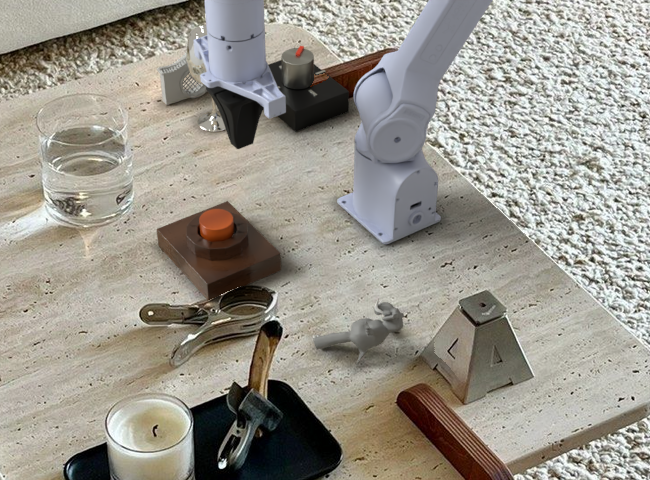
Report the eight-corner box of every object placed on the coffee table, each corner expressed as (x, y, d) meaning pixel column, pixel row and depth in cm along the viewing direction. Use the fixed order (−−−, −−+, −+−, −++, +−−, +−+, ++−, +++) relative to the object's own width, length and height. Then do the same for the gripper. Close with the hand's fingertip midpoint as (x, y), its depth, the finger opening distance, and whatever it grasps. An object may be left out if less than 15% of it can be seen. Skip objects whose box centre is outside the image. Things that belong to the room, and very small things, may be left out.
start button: (240, 234, 126) (239, 221, 125) (211, 247, 124) (210, 233, 123) (223, 217, 128) (222, 204, 127) (194, 229, 126) (192, 216, 125)
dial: (308, 91, 147) (308, 64, 144) (277, 86, 147) (277, 59, 145) (317, 75, 149) (317, 48, 147) (287, 70, 150) (286, 43, 147)
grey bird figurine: (324, 313, 123) (408, 294, 120) (336, 369, 123) (420, 352, 120) (294, 315, 113) (384, 295, 110) (307, 377, 113) (398, 358, 110)
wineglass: (244, 129, 146) (240, 41, 138) (200, 138, 145) (193, 50, 136) (229, 105, 150) (224, 18, 142) (186, 114, 149) (178, 27, 140)
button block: (281, 270, 127) (280, 241, 124) (208, 301, 124) (206, 272, 121) (228, 217, 134) (226, 188, 131) (158, 246, 130) (154, 217, 127)
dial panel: (349, 112, 149) (350, 90, 147) (294, 132, 146) (294, 110, 143) (301, 73, 155) (301, 51, 153) (247, 92, 152) (246, 70, 150)
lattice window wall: (241, 75, 155) (239, 34, 151) (248, 81, 154) (246, 40, 150) (159, 101, 151) (155, 60, 147) (165, 108, 150) (161, 66, 145)
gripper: (163, 8, 119) (175, 123, 129) (240, 71, 111) (246, 190, 120) (223, -11, 122) (230, 103, 131) (302, 49, 113) (304, 166, 123)
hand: (242, 143), depth 126 cm, fingers closed
